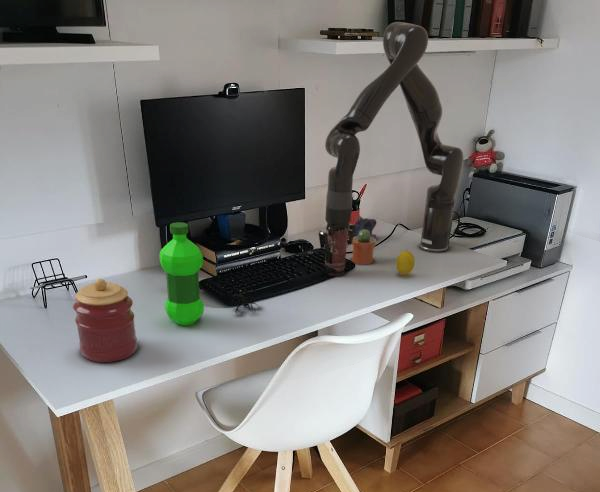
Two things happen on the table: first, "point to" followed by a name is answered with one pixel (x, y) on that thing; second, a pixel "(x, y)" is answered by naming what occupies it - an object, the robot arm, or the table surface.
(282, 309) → the table surface
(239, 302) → the creature
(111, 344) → the kitchen canister
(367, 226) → the frog
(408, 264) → the lemon
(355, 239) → the plant pot
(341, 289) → the table surface
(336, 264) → the can
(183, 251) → the plastic bottle
